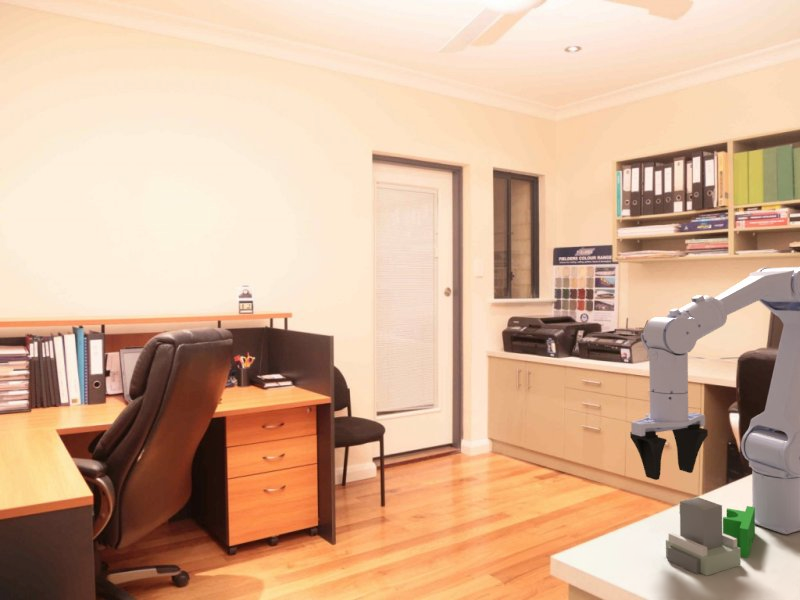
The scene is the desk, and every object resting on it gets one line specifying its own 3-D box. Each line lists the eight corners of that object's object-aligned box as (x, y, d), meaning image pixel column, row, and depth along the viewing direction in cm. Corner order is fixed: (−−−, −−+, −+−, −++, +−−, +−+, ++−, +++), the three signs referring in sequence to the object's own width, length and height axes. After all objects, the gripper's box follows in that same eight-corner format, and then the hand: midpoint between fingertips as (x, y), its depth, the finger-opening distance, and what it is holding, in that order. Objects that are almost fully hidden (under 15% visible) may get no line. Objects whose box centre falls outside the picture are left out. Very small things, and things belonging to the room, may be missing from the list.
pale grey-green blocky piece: (698, 547, 96) (698, 523, 96) (740, 565, 89) (740, 539, 89) (662, 557, 92) (661, 533, 92) (702, 576, 86) (702, 550, 86)
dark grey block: (692, 533, 95) (691, 495, 95) (722, 545, 90) (721, 505, 90) (673, 538, 93) (673, 499, 93) (703, 551, 88) (703, 510, 88)
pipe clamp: (729, 529, 103) (729, 502, 103) (755, 534, 101) (754, 507, 101) (720, 553, 94) (720, 523, 94) (748, 559, 92) (748, 528, 92)
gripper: (679, 384, 106) (680, 462, 106) (616, 391, 99) (617, 474, 100) (716, 389, 99) (716, 473, 99) (651, 398, 93) (652, 486, 93)
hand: (669, 474), depth 99 cm, fingers open, 7 cm apart
